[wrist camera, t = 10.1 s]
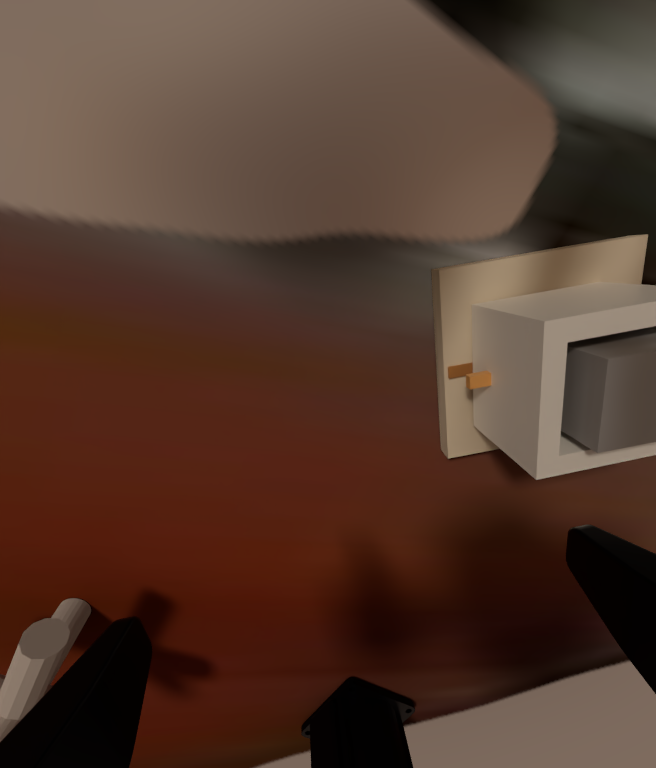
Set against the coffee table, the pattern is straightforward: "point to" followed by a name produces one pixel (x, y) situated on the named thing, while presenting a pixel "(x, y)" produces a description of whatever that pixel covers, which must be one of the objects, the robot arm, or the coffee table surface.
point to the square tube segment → (546, 369)
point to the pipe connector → (39, 661)
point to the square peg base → (584, 357)
